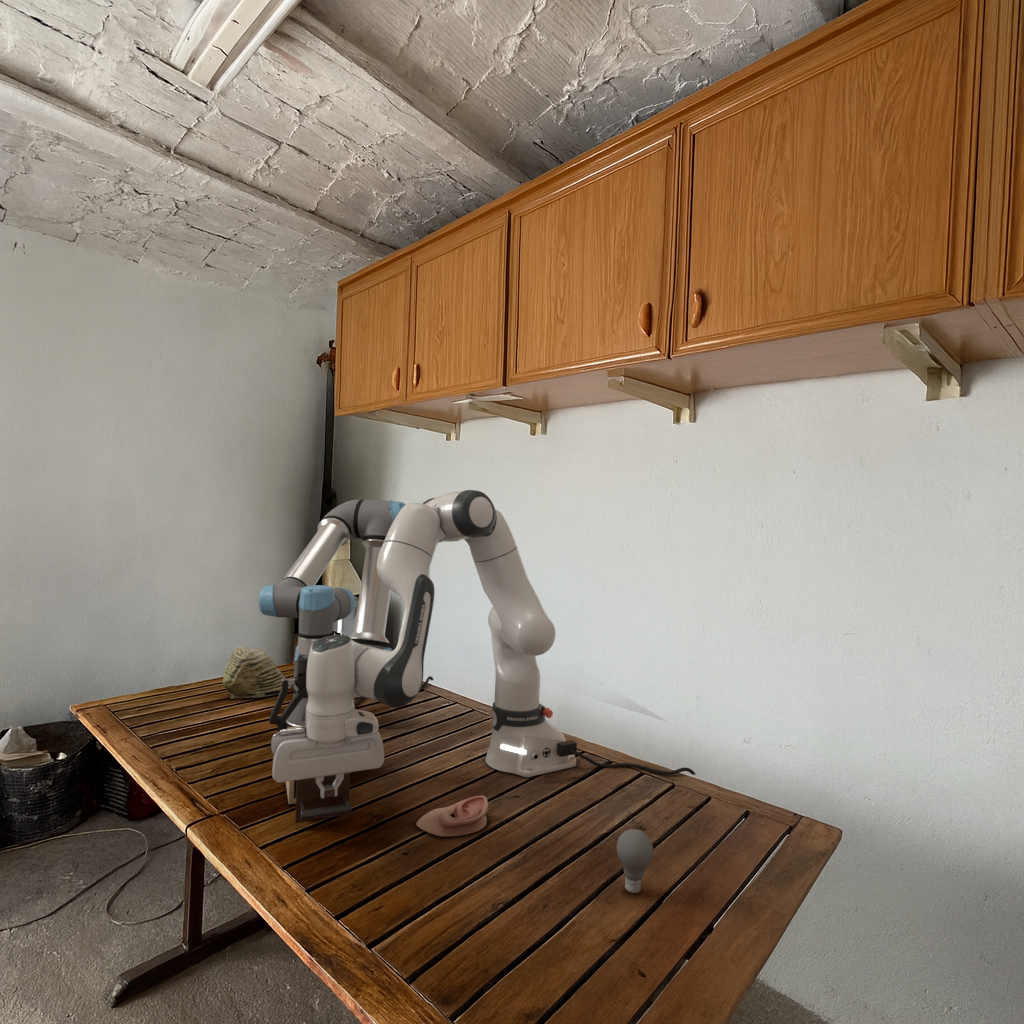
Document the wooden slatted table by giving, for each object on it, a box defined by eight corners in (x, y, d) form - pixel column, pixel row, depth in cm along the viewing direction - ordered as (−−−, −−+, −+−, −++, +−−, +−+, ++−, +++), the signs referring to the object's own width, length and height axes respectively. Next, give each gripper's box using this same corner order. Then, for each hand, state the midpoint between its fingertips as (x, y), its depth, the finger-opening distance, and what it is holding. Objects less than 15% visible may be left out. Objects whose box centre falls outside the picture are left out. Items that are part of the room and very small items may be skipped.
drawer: (353, 829, 119) (354, 785, 119) (297, 838, 115) (299, 793, 115) (337, 782, 139) (339, 744, 138) (290, 788, 135) (291, 749, 135)
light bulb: (610, 879, 108) (613, 822, 108) (644, 879, 109) (647, 822, 109) (619, 902, 102) (622, 840, 102) (655, 901, 103) (658, 840, 103)
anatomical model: (411, 811, 121) (430, 785, 132) (410, 832, 121) (430, 804, 132) (478, 821, 118) (492, 794, 129) (477, 842, 118) (492, 813, 129)
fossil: (218, 695, 195) (220, 647, 195) (278, 685, 208) (279, 640, 207) (228, 703, 189) (230, 653, 188) (289, 692, 201) (290, 645, 201)
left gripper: (259, 661, 136) (256, 762, 136) (370, 655, 145) (366, 750, 145) (259, 653, 143) (255, 749, 143) (364, 648, 152) (361, 738, 152)
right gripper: (271, 737, 112) (270, 814, 112) (387, 723, 120) (385, 795, 120) (270, 724, 118) (269, 798, 118) (380, 712, 126) (378, 780, 126)
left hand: (311, 750), depth 144 cm, fingers closed on cabinet, 11 cm apart
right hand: (328, 796), depth 119 cm, fingers closed
